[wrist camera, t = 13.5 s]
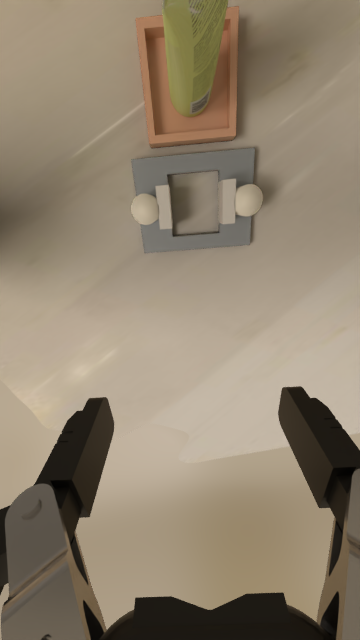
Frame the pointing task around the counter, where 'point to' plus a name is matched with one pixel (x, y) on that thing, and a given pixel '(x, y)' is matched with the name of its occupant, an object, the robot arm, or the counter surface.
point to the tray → (160, 111)
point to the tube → (192, 50)
